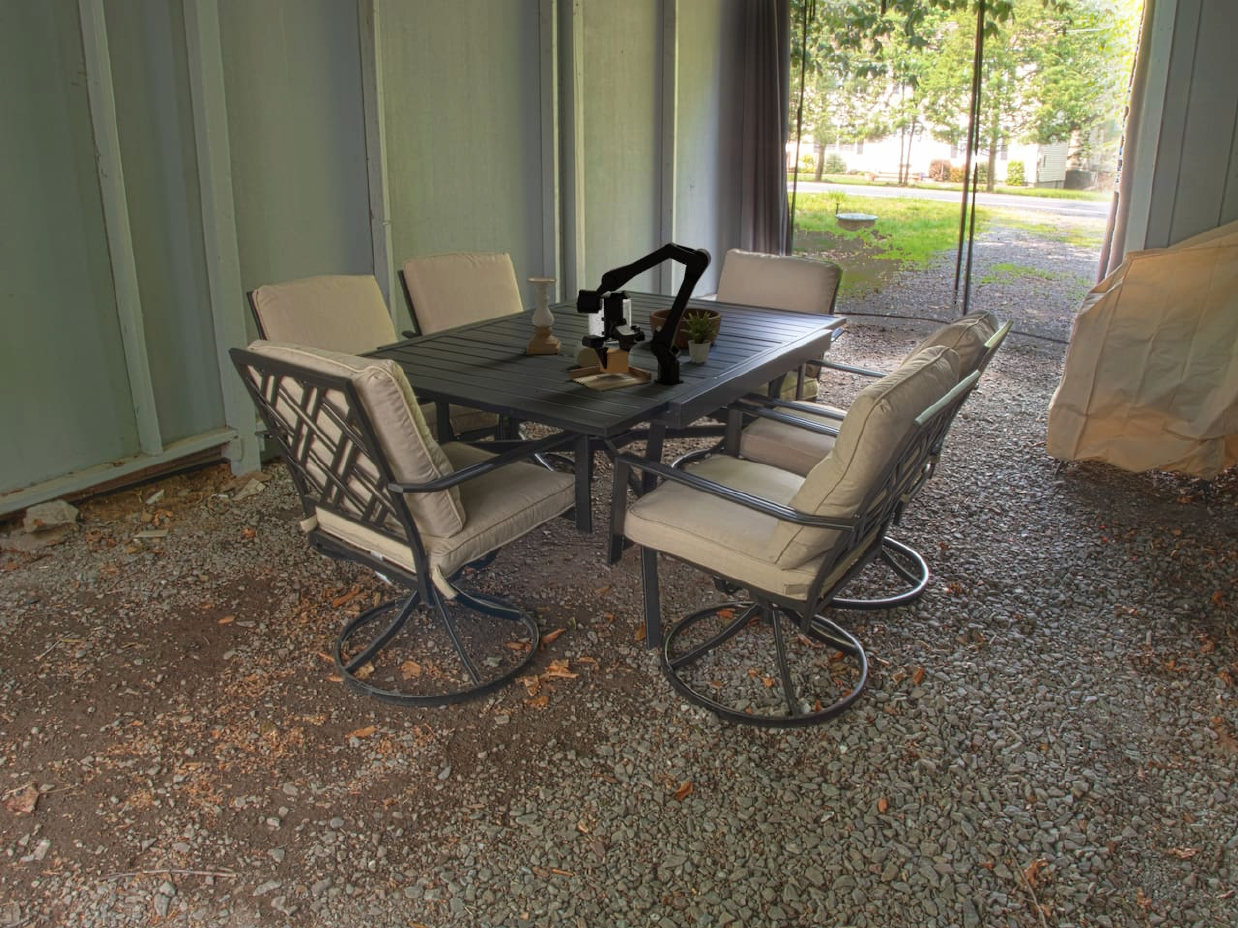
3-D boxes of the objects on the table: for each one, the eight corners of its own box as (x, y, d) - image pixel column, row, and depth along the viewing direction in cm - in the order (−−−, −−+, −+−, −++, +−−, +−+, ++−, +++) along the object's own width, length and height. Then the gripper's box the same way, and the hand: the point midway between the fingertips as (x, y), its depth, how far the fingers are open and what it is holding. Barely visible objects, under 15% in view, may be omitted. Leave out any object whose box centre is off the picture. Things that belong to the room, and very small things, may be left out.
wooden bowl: (732, 340, 308) (733, 310, 304) (700, 353, 288) (701, 322, 284) (670, 333, 320) (671, 304, 317) (635, 345, 300) (635, 316, 297)
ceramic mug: (577, 370, 267) (577, 346, 264) (573, 364, 275) (573, 340, 272) (611, 369, 269) (611, 345, 266) (606, 363, 277) (606, 339, 274)
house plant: (720, 368, 268) (721, 315, 263) (675, 366, 271) (676, 314, 266) (724, 357, 282) (725, 307, 276) (681, 356, 284) (682, 306, 279)
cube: (617, 368, 260) (616, 348, 258) (628, 371, 255) (628, 351, 253) (600, 370, 257) (599, 350, 255) (611, 374, 252) (611, 354, 250)
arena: (651, 381, 254) (651, 372, 253) (599, 391, 244) (599, 381, 243) (620, 371, 266) (620, 362, 265) (570, 379, 257) (569, 370, 256)
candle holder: (559, 354, 289) (556, 281, 281) (526, 354, 289) (522, 281, 281) (561, 346, 299) (559, 276, 291) (529, 347, 299) (526, 276, 291)
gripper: (601, 322, 239) (602, 377, 244) (656, 314, 249) (656, 368, 254) (580, 316, 248) (581, 369, 253) (634, 309, 258) (634, 361, 263)
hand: (614, 367), depth 256 cm, fingers closed on cube, 6 cm apart
